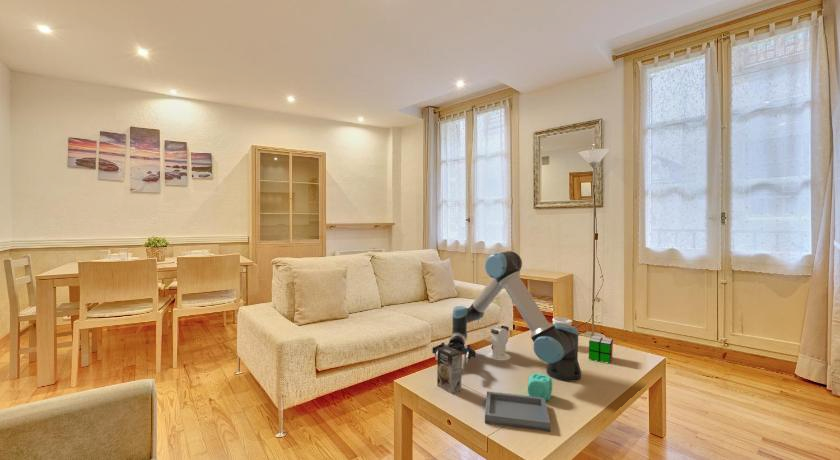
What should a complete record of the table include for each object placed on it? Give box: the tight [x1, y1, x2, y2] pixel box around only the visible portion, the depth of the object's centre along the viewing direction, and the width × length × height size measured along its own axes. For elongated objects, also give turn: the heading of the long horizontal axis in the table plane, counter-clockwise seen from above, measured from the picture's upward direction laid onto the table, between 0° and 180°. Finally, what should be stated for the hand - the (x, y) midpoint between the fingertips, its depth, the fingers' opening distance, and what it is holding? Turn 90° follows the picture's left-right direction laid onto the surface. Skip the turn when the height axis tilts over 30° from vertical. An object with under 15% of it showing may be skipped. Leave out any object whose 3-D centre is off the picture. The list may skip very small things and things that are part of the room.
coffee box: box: [436, 346, 463, 394], centre depth 158 cm, size 9×6×16 cm
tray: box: [484, 391, 551, 432], centre depth 138 cm, size 22×18×3 cm
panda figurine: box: [487, 325, 511, 362], centre depth 194 cm, size 12×11×15 cm
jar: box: [552, 316, 573, 326], centre depth 211 cm, size 11×10×15 cm
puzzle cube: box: [588, 335, 614, 364], centre depth 193 cm, size 10×10×10 cm
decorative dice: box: [527, 372, 553, 402], centre depth 151 cm, size 8×8×8 cm
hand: (451, 358), depth 167 cm, fingers open, 13 cm apart
